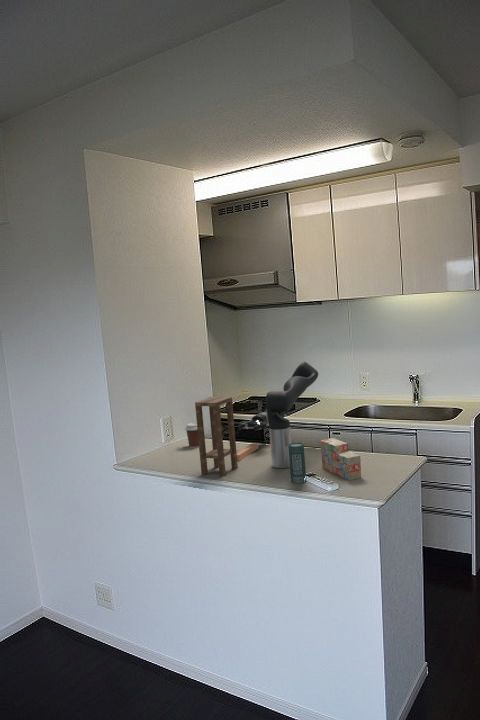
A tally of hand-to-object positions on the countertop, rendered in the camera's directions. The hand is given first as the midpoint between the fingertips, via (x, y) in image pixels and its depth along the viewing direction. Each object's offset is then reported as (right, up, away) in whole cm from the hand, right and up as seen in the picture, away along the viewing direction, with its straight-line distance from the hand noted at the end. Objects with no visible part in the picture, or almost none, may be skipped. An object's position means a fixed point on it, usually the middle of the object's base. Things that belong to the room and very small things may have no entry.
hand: (246, 428), depth 273 cm
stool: (-12, -16, -23) cm, 31 cm away
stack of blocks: (+39, -14, -39) cm, 56 cm away
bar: (0, -13, +1) cm, 13 cm away
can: (+20, -16, -45) cm, 52 cm away
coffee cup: (-27, -13, +24) cm, 38 cm away
